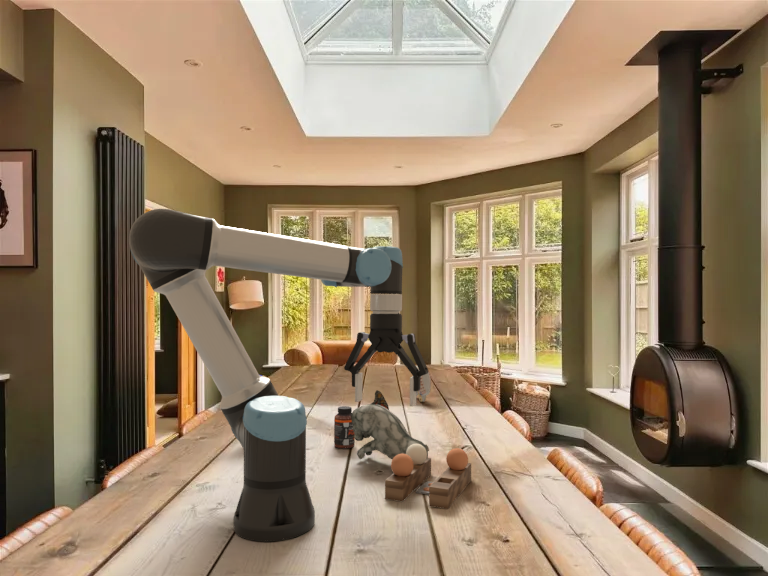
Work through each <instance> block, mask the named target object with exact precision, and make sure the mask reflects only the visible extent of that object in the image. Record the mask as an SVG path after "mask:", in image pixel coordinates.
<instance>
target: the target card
mask: <svg viewBox="0 0 768 576" xmlns="http://www.w3.org/2000/svg"><path fill="white" fill-rule="evenodd" d="M433 482H434V481H427V480H425V481H424V482H423V483H422V484H421V485H420V486H419V487H417V488H416V489H415V494H421V495H427V496H429V486H430V485H431V484H432V483H433Z"/></svg>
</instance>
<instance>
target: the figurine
mask: <svg viewBox="0 0 768 576" xmlns="http://www.w3.org/2000/svg"><path fill="white" fill-rule="evenodd" d="M351 413H352V414H351V420H352V423H353V431H354V434H355V441H357V442H360V441H361V442H362V441H363V440H364V439H369V438H370V437H371V438H372V440H371V441H368V442H367V443H365V444H364V445H362V446H361V447H360V448H359V449H358V450H357V452H356V455H357V458H358V459H359V460H361V459H364V458H365V455H366V456H371V455H373V451H378V452H380V453H381V454H383V455H385V456H386V457H388V458H389V459H391V461H392V460H393V458H394V457H395V456H396V455H398V454H406V451H407V448H408V447H409V446H410V445H412V444H421V445H422V446H423V447H424V448H425V449H426V452H427V458H429V451H430V449H429V445H428V444H424V442H423V441H421V440H419V439H416V438H413V437H412V436H411V435H410V433H409V432H408V431H407V428H406V427H405V425H404V423H403V422H402V421H401V420H400V418H399V417H398V416H397V415H396V414H395V413H394V412H392V411H391V410H390V409H389V410H388V409H387V408H385V407H383V406H381V405H377V404H371V403H370V404H365V405H364V404H363V405H360V406H359V407H357V408H355V409H354V410H353V411H352V412H351Z"/></svg>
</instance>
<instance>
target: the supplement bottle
mask: <svg viewBox="0 0 768 576" xmlns="http://www.w3.org/2000/svg"><path fill="white" fill-rule="evenodd" d="M352 412H353V411H352V407H351V406H347V405H343V406H338V407H337V413H336V414H335V415H334V420H333V421H334V423H333V426H334V428H333V429H334V431H333V437H334V439H333V442H334V443H333V445H334V447H335V448H337V449H343V450H345V449H347V450H348V449H351V448H354V447H355V443H356V442H355V441H356V440H355V434H354V431H353V423H352V420H351V414H352Z"/></svg>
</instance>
